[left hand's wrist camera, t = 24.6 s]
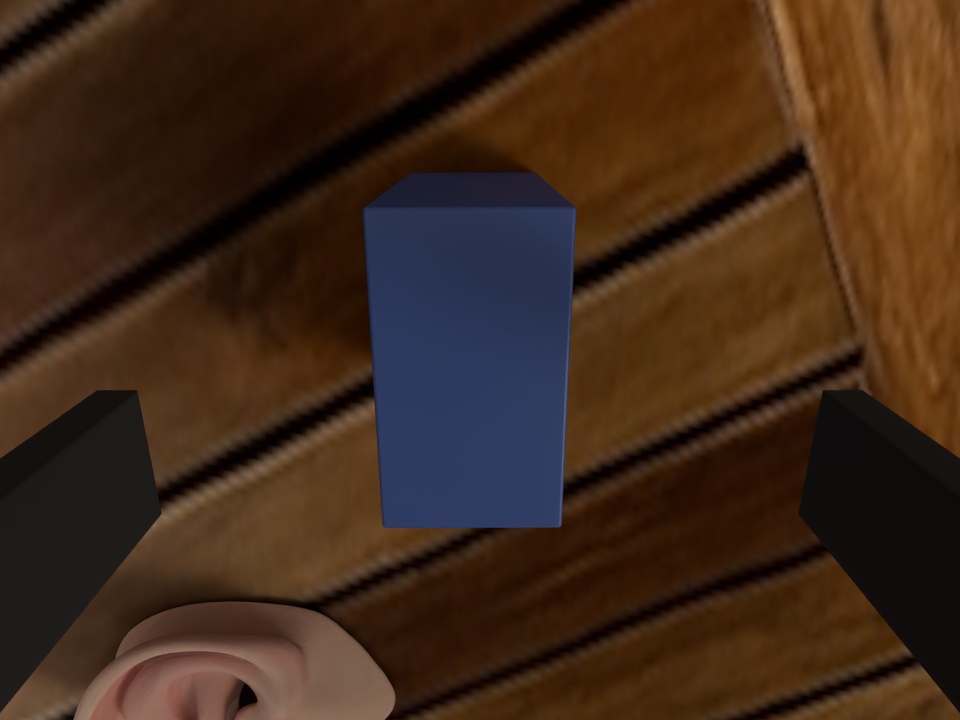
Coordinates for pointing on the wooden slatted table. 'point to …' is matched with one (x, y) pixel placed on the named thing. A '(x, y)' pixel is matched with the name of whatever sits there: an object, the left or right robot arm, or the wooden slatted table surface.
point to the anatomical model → (238, 668)
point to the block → (470, 348)
